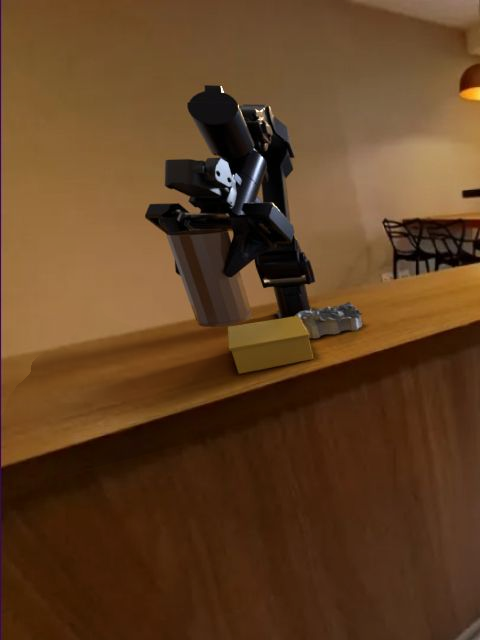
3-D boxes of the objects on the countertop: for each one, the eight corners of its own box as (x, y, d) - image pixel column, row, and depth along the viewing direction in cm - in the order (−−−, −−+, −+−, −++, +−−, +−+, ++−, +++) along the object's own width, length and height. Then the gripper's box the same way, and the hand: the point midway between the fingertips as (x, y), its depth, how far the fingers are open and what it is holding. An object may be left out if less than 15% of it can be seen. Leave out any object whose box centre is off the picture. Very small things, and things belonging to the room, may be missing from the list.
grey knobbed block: (303, 341, 74) (298, 318, 72) (295, 330, 80) (289, 308, 78) (366, 329, 79) (362, 307, 78) (354, 319, 85) (350, 298, 83)
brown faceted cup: (199, 317, 64) (169, 231, 59) (251, 309, 67) (227, 227, 62) (196, 330, 59) (163, 237, 54) (253, 321, 62) (227, 232, 57)
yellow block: (235, 350, 71) (227, 326, 69) (304, 338, 76) (298, 315, 74) (237, 374, 62) (228, 348, 60) (315, 359, 67) (309, 334, 65)
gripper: (129, 137, 57) (81, 236, 53) (258, 133, 55) (221, 237, 50) (196, 198, 68) (162, 286, 63) (307, 197, 65) (280, 288, 60)
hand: (203, 275), depth 59 cm, fingers closed on brown faceted cup, 7 cm apart
